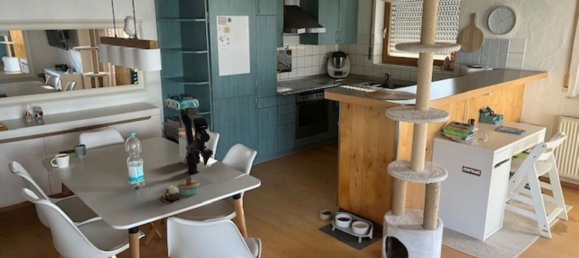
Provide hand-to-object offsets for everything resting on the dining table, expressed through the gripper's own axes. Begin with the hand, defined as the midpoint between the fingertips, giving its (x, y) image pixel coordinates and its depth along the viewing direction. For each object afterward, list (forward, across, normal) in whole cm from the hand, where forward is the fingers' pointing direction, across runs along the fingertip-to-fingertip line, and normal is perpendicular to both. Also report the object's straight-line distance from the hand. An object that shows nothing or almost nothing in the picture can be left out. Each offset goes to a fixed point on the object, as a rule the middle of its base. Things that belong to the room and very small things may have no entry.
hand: (200, 163), depth 258 cm
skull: (+12, +9, -25) cm, 29 cm away
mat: (+12, 0, -1) cm, 12 cm away
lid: (+8, +8, -13) cm, 17 cm away
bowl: (+12, +8, -13) cm, 19 cm away
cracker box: (+12, -35, +11) cm, 39 cm away
